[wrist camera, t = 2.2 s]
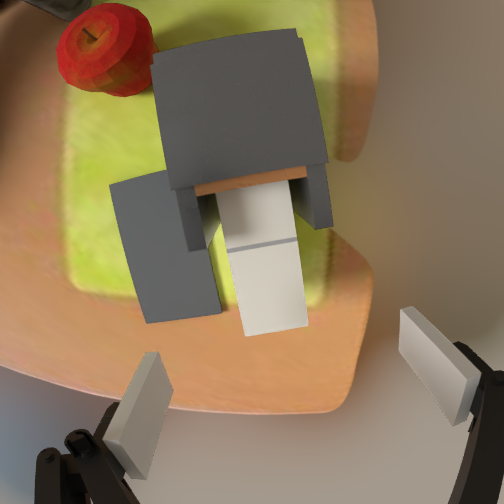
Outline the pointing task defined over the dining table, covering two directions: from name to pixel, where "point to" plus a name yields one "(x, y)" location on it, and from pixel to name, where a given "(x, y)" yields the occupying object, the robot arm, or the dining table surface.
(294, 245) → the white rectangular block
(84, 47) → the apple
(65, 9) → the beverage cup
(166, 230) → the mat
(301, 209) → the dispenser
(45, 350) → the dining table surface
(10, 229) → the dining table surface
